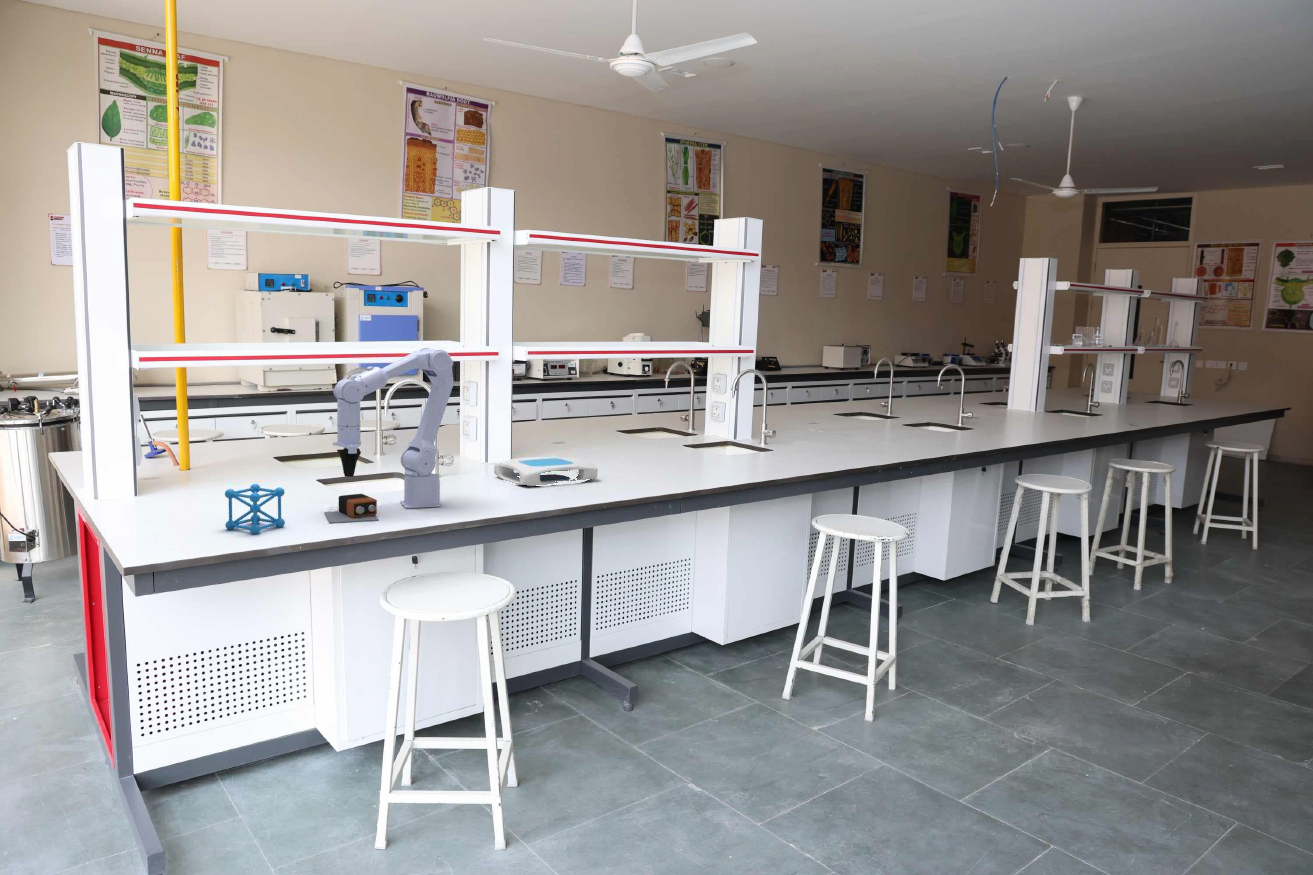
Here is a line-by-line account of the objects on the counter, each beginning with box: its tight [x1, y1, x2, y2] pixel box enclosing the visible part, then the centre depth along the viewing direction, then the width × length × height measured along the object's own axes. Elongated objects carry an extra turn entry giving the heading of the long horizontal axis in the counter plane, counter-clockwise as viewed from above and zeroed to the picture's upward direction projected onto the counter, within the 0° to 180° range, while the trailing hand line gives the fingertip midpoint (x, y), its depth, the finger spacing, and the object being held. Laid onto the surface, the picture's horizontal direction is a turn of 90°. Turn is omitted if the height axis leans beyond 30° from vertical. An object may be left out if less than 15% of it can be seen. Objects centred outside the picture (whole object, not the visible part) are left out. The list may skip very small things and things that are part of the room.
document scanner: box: [493, 455, 599, 487], centre depth 293 cm, size 21×28×6 cm
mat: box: [323, 510, 379, 524], centre depth 229 cm, size 12×12×1 cm
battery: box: [338, 493, 378, 518], centre depth 231 cm, size 4×7×10 cm
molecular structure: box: [224, 483, 286, 535], centre depth 213 cm, size 10×10×10 cm
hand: (349, 476), depth 232 cm, fingers closed
